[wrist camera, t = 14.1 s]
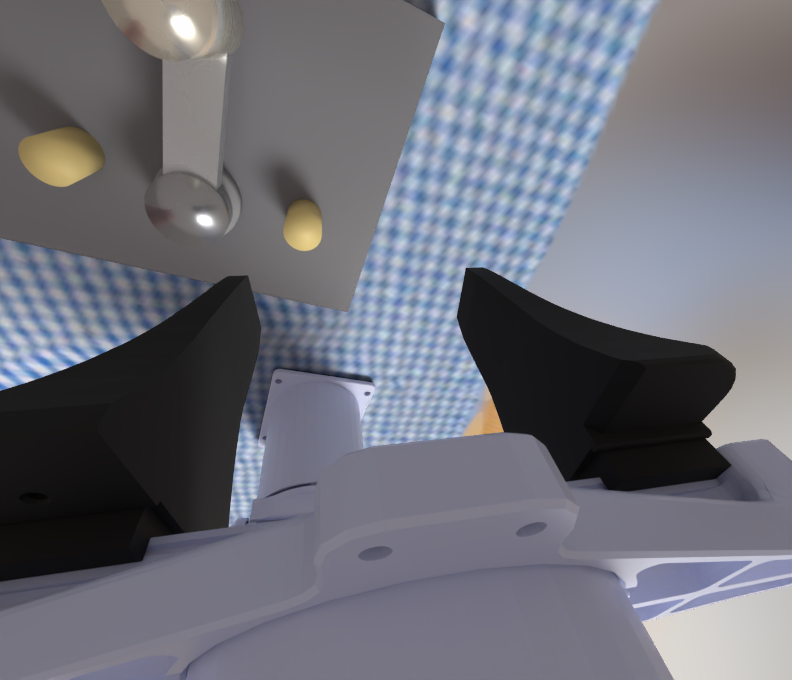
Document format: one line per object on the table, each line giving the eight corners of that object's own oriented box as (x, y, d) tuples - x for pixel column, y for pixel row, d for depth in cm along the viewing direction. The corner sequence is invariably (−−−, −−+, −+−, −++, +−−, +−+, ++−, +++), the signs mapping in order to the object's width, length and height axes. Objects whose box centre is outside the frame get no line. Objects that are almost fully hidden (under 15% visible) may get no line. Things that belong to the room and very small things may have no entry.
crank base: (346, 303, 24) (349, 333, 21) (-28, 220, 17) (-89, 249, 15) (439, 24, 15) (461, 18, 13) (-215, -333, 9) (-428, -486, 6)
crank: (229, 245, 18) (204, 293, 14) (156, 226, 17) (109, 273, 13) (257, -11, 12) (228, -39, 9) (151, -65, 11) (68, -122, 8)
